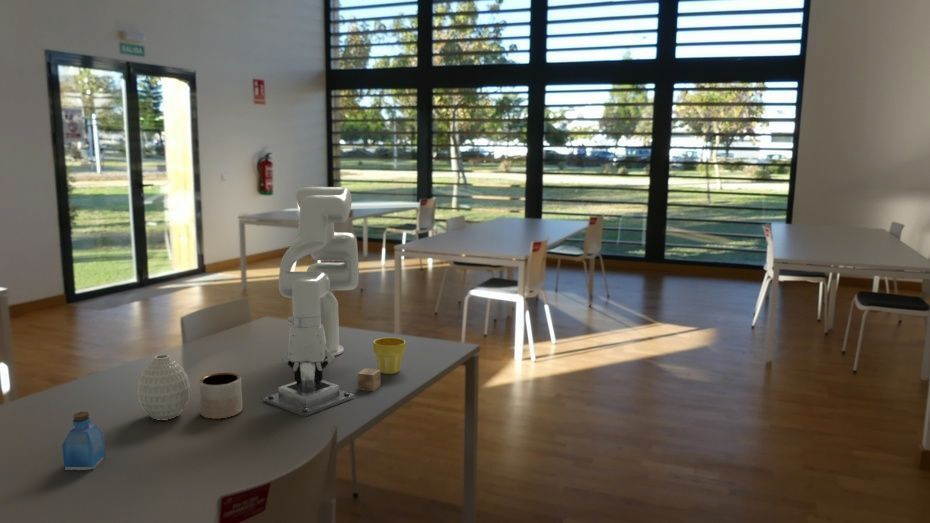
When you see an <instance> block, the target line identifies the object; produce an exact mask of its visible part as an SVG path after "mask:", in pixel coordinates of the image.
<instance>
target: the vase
mask: <svg viewBox="0 0 930 523" xmlns="http://www.w3.org/2000/svg"><path fill="white" fill-rule="evenodd" d="M136 390H137V391H136V392H137V399H138V402H139V404H140V407H141V408H142V410H143V411H144V412H145V413H146V415H147V416H149V418H151V419H153V420H154V419H160V420H162V419H170V418H173V417H176V416H177V417H178V416H179V415H180V414H181V413H182V412H183V411H184V409H185V407H186V406H187V404H188V401H189V398H190V395H191V383H190V378H189V376H188V374H187V372H186V370H185V369H184V367H183V366H182V365H181V364H179V363H178V362H177V361H175V359H173V358H172V357H171V355H169V354H166V353H165V354H164V353H163V354H157V355H155V356H153V357H152V360H151V361H150V362H149V363H148V364H147V366H145V367H144V369H143V370H142V372H141V374H140V376H139V378H138V381H137V388H136ZM177 417H176V418H177Z"/></svg>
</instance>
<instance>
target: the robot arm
mask: <svg viewBox="0 0 930 523" xmlns="http://www.w3.org/2000/svg"><path fill="white" fill-rule="evenodd" d="M295 194H296V195H295V198H296V203H297V204H298V205H297V206H298V207H299V215H298V216H299V218H298V219H299V220H298V229H297V230H298V231H297V240H295V242H294V243H293V244H291V246H290V247H289V248H288V249H287V250H286V252H285V253H284V254H283V257H282V259H281V260H280V265H279V276H278V289H279V294H280V295H281V296H282V297H284V298H286V299H292V300H291V301H292V315H291V316H288V317H287V322H289V323H291V324H292V325H291V326H290V328H289V333H288V334H289V335H288V349H287V350H286V352H285V353H284V355H282V357H281V360H282V361H283V362H284V363H285V364H287V365H288V366H289V367H290V368H291V369H292V371H293V372H294V373H293V374H294V376H293V377H294V382H296V381H297V385H299V384H300V373H299V362H303V359H309V362H316V365H317V371H316V384H317V385H319V384H320V382H321V381H322V380H324V377H323V375H324V374H323V370H324V369H325V368H326V367H327V366H328V365H329V364H330V363H331V362H333V361H334V360H335V357H336V356H339V355H341V354H343V353H344V350H345V349H344V347H343V346H342V345H341V344H340V333H339V331H340V330H339V328H340V327H339V326H340V325H339V301H338V299H337V298H336V297H335V295H334V293H332V291H353V290H355V289H356V288H357V287H358V285H359V255H358V241H357V238H356V236H355V235H354V234H353V233H351V232H344V231H343V232H336V231H335V224H337V223H345V222H346V221H347V220H348V218H349V215H350V213H351V209H352V202H353V201H352V199H353V198H352V193H351V191H350V189H349V188H347V187H343V186H341V187H340V186H307V187H306V186H305V187H301V188H299V189H298V190H297V191H296V193H295ZM309 255H310V256H311V258H312V259H313V260H316V261H324V262H315V263H312V264H310V265H309V266H308V268H307V270H306V271H291V269H292V267H293V266H294V264H295V263H296V262H297V261H299V260H300V259H302V258H304V257H306V256H309ZM325 261H332V262H325ZM333 261H338V262H333ZM339 261H342V262H339Z"/></svg>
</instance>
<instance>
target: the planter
mask: <svg viewBox="0 0 930 523" xmlns="http://www.w3.org/2000/svg"><path fill="white" fill-rule="evenodd" d="M198 388H199V389H198V391H199V412H200V415H201V416H202V417H204V418H206V419H209V418H212V419H211V420H222V419H221V418H225V419H229V418H228V417H230V418H232V417H231V416H233V417H235V416H237V415H238V414H240V413H241V412H242V411H243V407H244V406H243V392H242V391H243V389H242V376H241V375H240V374H238V373H235V372H217V373H216V372H215V373H210V374H207V375H204V376H202V377H201V378H200V379H199V380H198Z"/></svg>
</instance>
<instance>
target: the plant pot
mask: <svg viewBox="0 0 930 523" xmlns="http://www.w3.org/2000/svg"><path fill="white" fill-rule="evenodd" d="M406 344H407V343H406V340H405V339H403V338H399V337H389V336H388V337H387V336H385V337H381V338H376V339H374V340H373V343H372V348H373V350H372V351H373V353H374V354H375V357H376V358H375V359H376V361H377V362H376V363H377V368H378V370H380V374H381V373H382V374H389V375H390V374H391V375H393V374H397V373H398V372H400V370H401V367H402V366H401V365H402V361H403V357H404V354H405V352H406V348H407V346H406Z"/></svg>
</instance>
